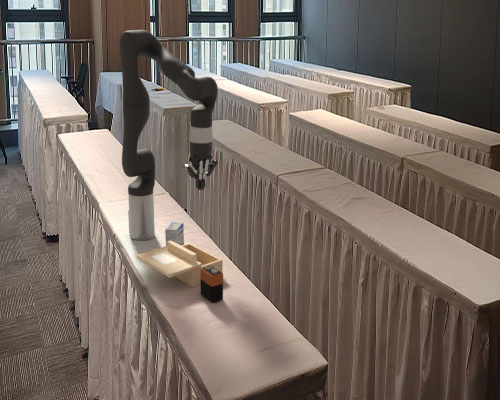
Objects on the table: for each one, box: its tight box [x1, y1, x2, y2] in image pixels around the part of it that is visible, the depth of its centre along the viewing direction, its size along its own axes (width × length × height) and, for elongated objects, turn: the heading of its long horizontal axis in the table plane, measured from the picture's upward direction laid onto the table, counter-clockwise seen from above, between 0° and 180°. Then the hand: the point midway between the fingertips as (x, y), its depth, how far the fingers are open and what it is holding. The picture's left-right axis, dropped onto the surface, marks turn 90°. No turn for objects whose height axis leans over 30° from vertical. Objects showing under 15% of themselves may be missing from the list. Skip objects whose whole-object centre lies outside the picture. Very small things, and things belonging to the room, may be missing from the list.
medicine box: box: [164, 221, 185, 246], centre depth 226 cm, size 8×4×9 cm, turn 168°
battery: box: [200, 265, 224, 304], centre depth 191 cm, size 4×7×10 cm, turn 35°
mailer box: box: [174, 242, 224, 288], centre depth 208 cm, size 18×12×6 cm, turn 42°
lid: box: [136, 241, 202, 278], centre depth 200 cm, size 18×12×4 cm
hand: (200, 189), depth 211 cm, fingers closed
